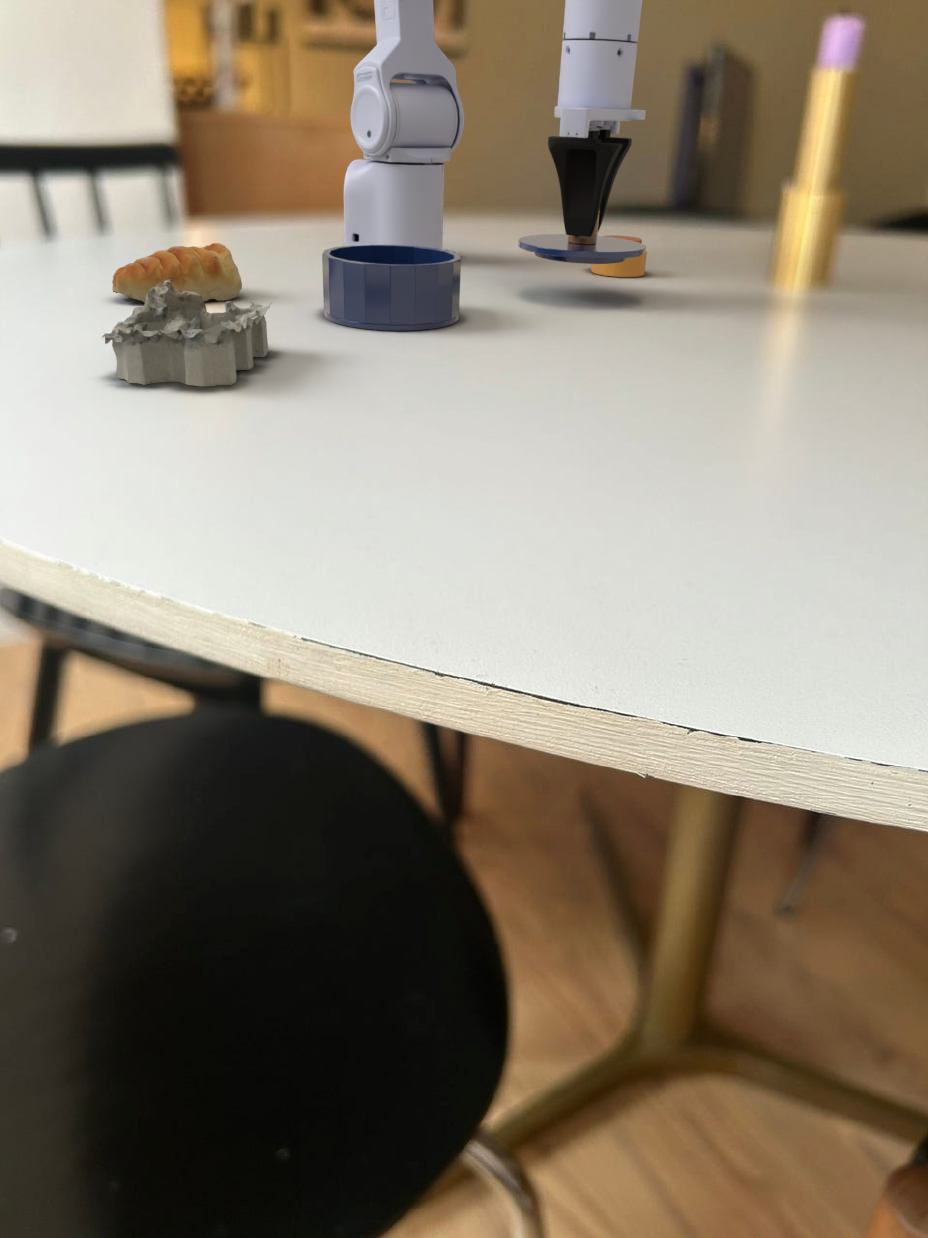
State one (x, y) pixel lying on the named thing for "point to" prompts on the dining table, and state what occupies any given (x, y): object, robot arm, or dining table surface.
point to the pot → (391, 286)
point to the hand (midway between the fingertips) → (582, 233)
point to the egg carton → (187, 340)
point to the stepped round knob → (623, 264)
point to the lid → (582, 248)
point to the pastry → (182, 273)
